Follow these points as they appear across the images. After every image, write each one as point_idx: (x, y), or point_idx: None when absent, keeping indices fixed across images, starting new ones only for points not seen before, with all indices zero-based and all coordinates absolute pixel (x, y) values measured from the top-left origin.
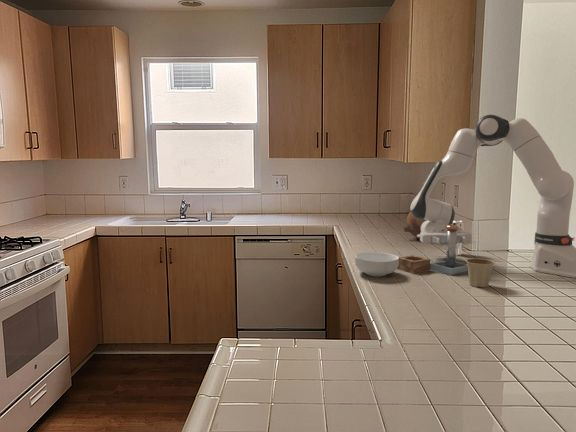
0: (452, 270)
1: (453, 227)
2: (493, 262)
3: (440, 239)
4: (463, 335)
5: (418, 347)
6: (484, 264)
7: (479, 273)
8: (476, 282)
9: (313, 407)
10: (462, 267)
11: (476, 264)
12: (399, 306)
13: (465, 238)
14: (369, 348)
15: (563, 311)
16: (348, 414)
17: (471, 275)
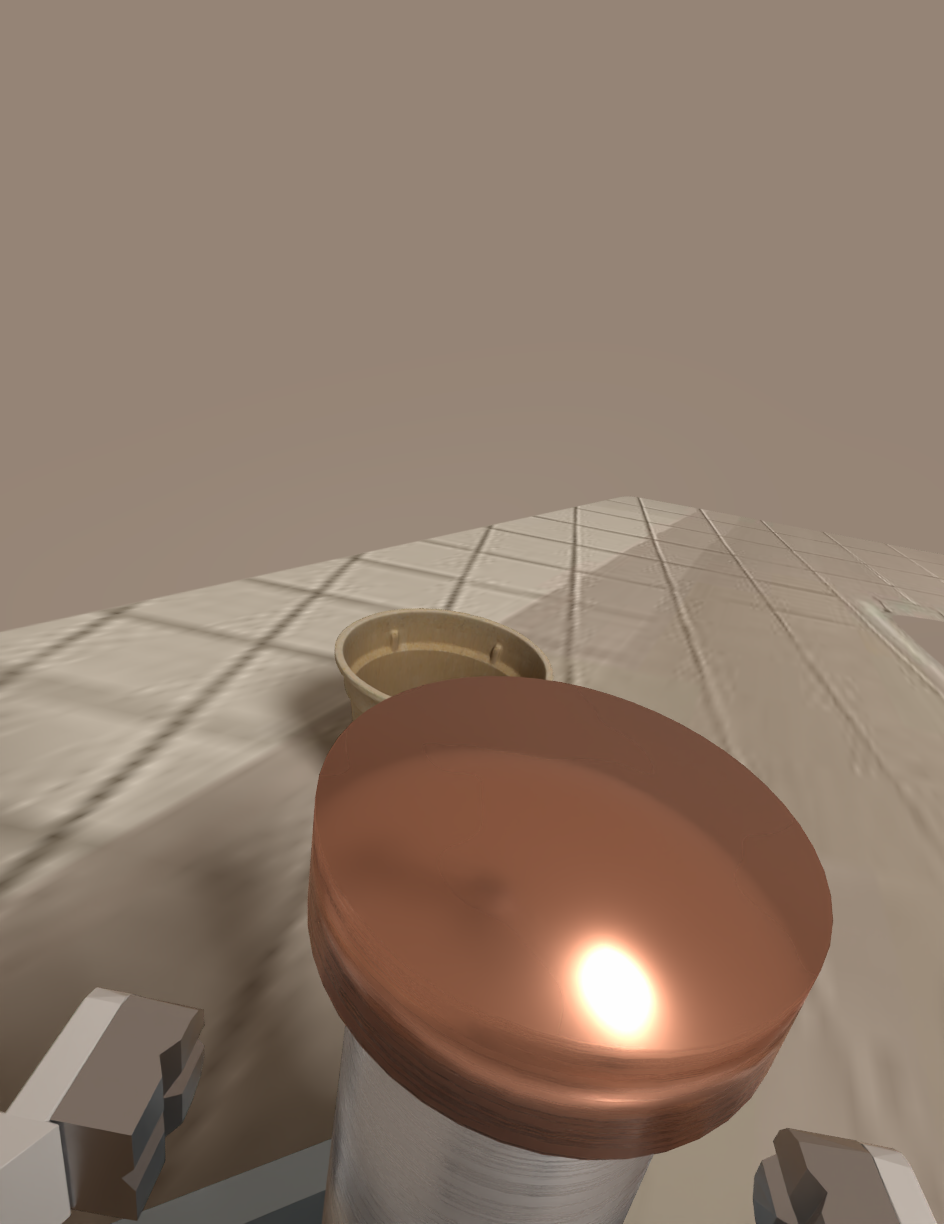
0: None
1: (589, 701)
2: (357, 628)
3: (834, 1140)
4: (696, 582)
5: (798, 583)
6: (467, 614)
7: None
8: None
9: (916, 557)
10: (315, 1147)
11: (512, 634)
12: (897, 710)
13: (82, 1007)
14: (899, 601)
15: (325, 572)
16: (869, 545)
17: None
